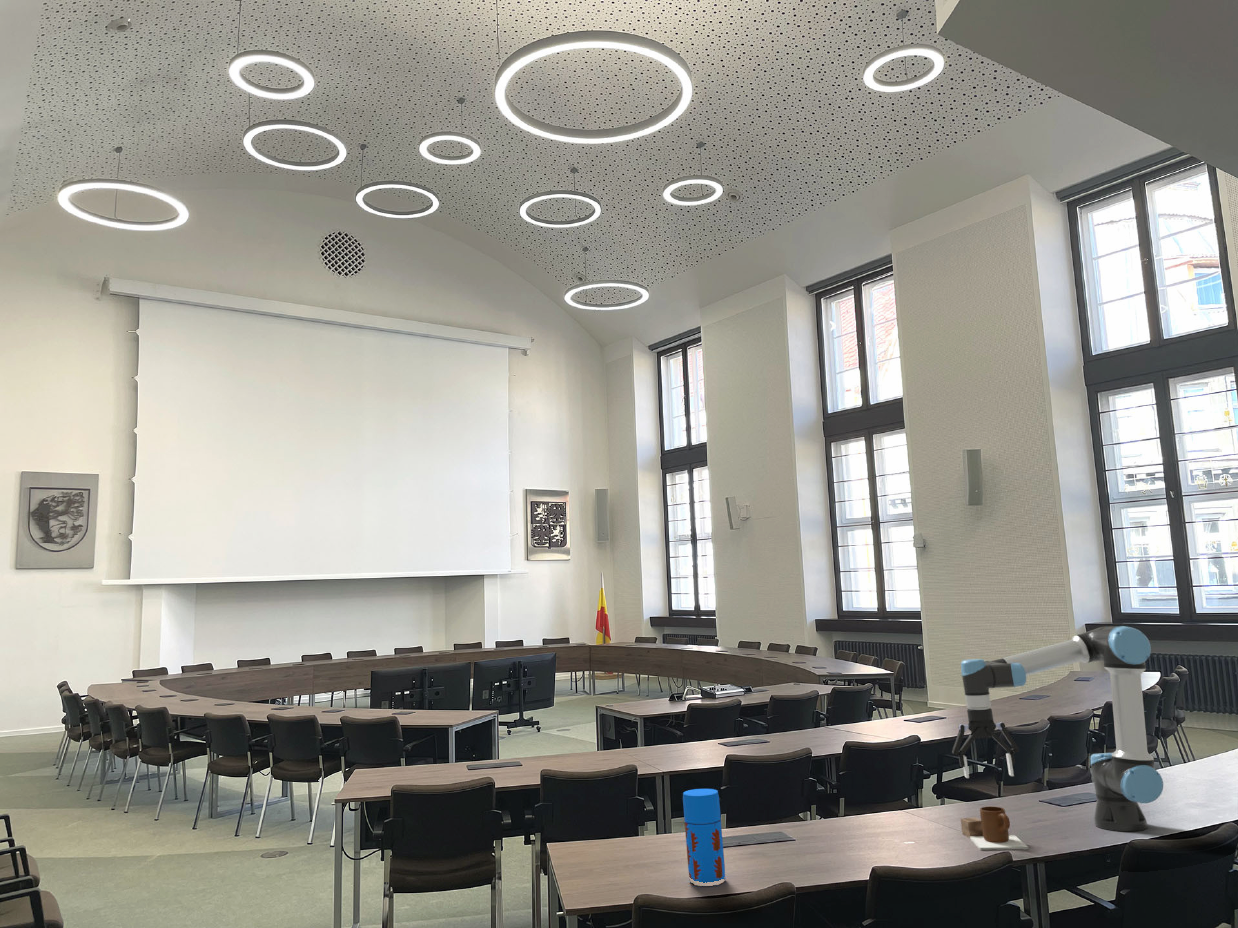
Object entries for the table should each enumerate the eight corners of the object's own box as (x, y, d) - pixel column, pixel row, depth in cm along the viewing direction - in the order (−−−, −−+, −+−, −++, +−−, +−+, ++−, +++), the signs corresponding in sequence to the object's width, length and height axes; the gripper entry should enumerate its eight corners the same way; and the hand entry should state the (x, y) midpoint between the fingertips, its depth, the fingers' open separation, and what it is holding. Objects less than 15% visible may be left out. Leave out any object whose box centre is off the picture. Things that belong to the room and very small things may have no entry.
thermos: (723, 874, 253) (715, 787, 258) (728, 885, 243) (721, 794, 247) (687, 877, 253) (680, 790, 257) (691, 888, 242) (684, 797, 247)
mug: (1023, 844, 260) (1018, 812, 262) (1000, 847, 259) (996, 815, 261) (1000, 835, 272) (996, 805, 274) (978, 838, 271) (974, 807, 273)
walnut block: (977, 833, 280) (974, 817, 281) (984, 836, 275) (982, 820, 276) (962, 834, 279) (960, 818, 280) (970, 838, 274) (967, 821, 275)
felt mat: (1015, 837, 271) (1015, 835, 271) (1028, 849, 258) (1028, 846, 258) (970, 838, 273) (969, 836, 274) (980, 850, 260) (980, 847, 260)
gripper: (1016, 704, 275) (1026, 772, 271) (937, 708, 279) (946, 775, 275) (1022, 707, 268) (1033, 776, 264) (941, 711, 272) (951, 780, 268)
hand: (989, 776), depth 269 cm, fingers open, 13 cm apart
